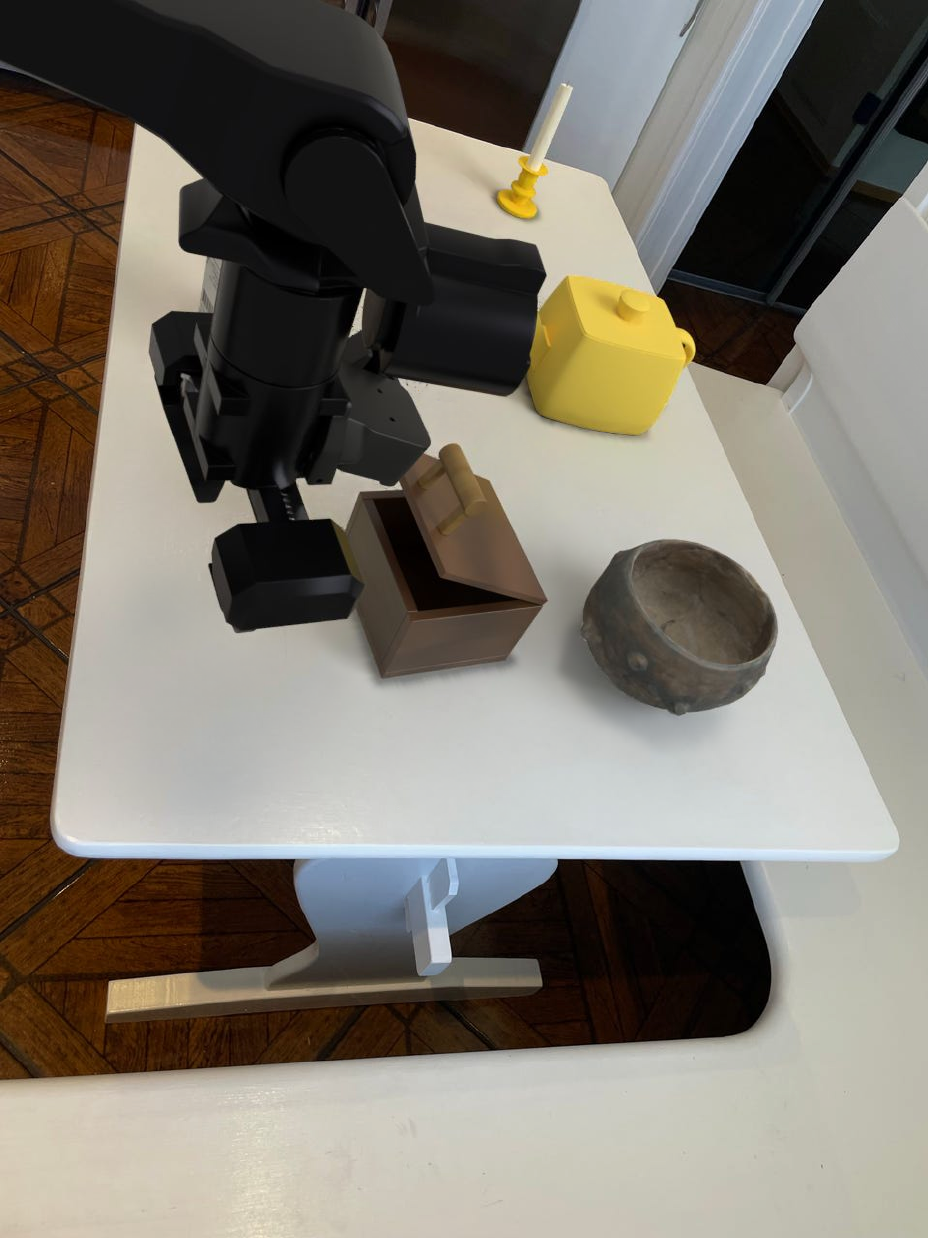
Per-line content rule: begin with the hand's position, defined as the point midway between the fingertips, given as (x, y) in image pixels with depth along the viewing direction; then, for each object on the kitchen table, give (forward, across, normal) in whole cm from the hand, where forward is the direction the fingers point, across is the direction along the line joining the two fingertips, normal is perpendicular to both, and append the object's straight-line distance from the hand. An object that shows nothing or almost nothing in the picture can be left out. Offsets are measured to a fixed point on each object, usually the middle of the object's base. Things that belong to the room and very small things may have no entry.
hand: (224, 562), depth 52 cm
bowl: (+13, -4, -35) cm, 38 cm away
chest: (+13, +4, -18) cm, 23 cm away
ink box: (+13, +32, -11) cm, 37 cm away
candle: (+13, +61, -53) cm, 82 cm away
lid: (+3, +4, -18) cm, 19 cm away
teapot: (+13, +29, -45) cm, 55 cm away
